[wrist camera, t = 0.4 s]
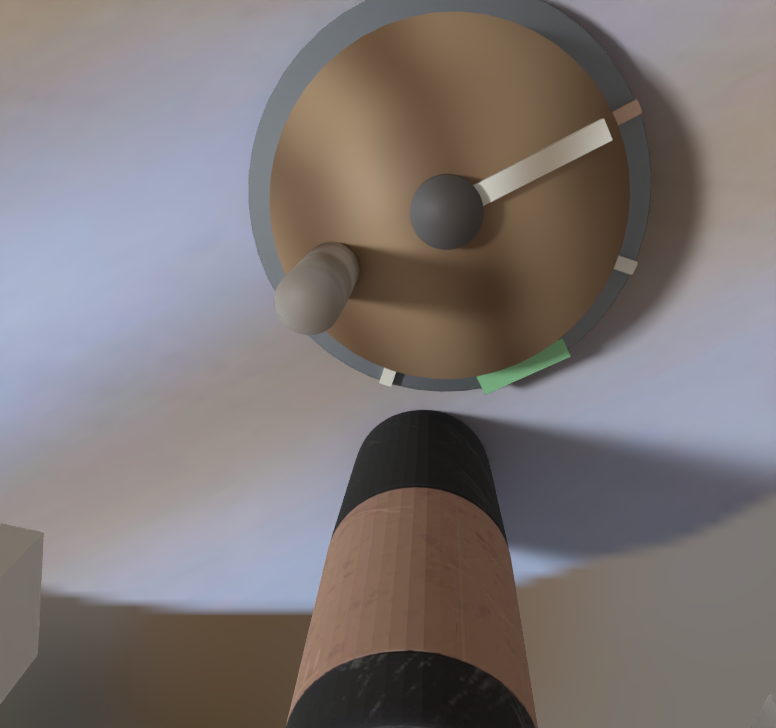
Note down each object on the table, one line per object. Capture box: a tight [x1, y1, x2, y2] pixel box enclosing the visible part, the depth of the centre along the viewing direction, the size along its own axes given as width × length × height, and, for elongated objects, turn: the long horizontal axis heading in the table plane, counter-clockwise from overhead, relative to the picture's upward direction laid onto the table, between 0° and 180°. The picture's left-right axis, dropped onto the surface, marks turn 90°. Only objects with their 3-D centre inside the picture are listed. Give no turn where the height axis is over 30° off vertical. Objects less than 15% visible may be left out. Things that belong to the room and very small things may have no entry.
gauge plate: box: [249, 0, 651, 395], centre depth 31 cm, size 18×18×2 cm
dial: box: [269, 12, 630, 379], centre depth 27 cm, size 15×15×8 cm
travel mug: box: [286, 410, 538, 728], centre depth 27 cm, size 8×8×20 cm
